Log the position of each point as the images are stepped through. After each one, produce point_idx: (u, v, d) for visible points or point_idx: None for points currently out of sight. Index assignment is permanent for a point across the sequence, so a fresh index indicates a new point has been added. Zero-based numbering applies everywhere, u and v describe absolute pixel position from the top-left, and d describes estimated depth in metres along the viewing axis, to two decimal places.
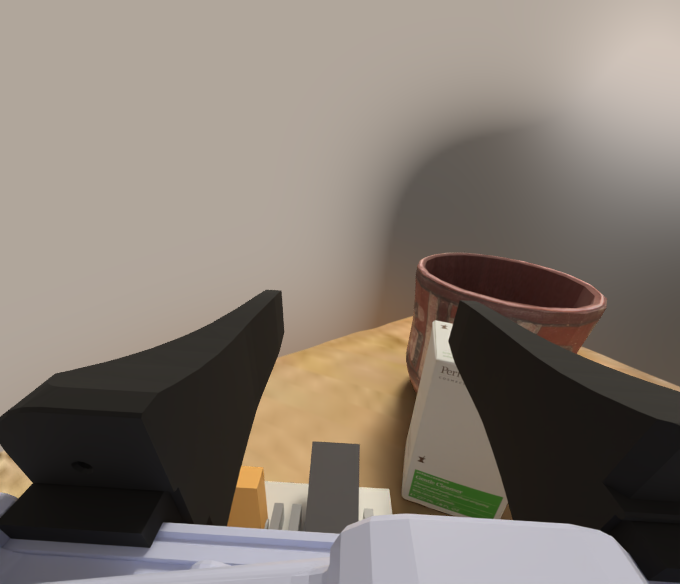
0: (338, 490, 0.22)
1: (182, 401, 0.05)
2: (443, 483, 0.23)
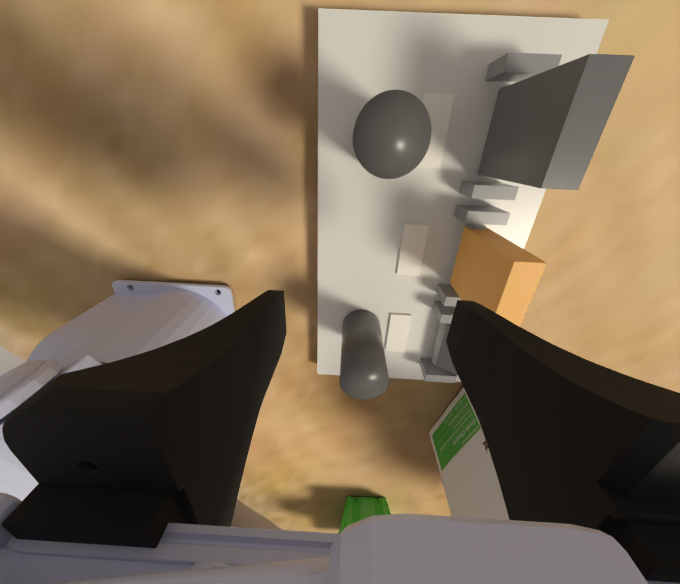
0: None
1: (187, 401, 0.05)
2: (463, 438, 0.24)
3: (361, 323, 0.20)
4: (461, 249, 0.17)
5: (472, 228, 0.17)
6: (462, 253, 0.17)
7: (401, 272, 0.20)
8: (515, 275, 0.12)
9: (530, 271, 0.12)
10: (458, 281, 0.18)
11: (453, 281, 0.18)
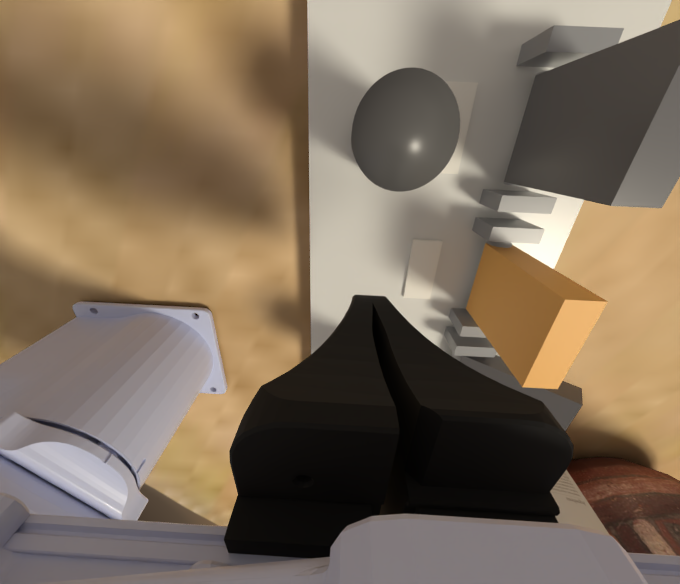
0: None
1: None
2: None
3: None
4: (481, 270, 0.15)
5: (496, 246, 0.14)
6: (483, 276, 0.14)
7: (408, 295, 0.17)
8: (565, 316, 0.09)
9: (584, 311, 0.09)
10: (478, 308, 0.15)
11: (471, 307, 0.16)
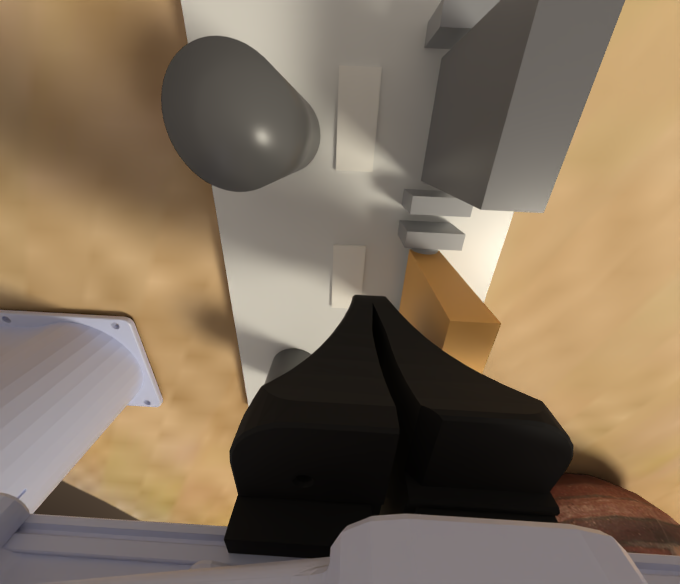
0: None
1: None
2: None
3: (285, 371, 0.15)
4: (406, 279, 0.13)
5: (418, 253, 0.12)
6: (407, 285, 0.13)
7: (337, 305, 0.15)
8: (455, 339, 0.08)
9: (476, 334, 0.08)
10: None
11: None
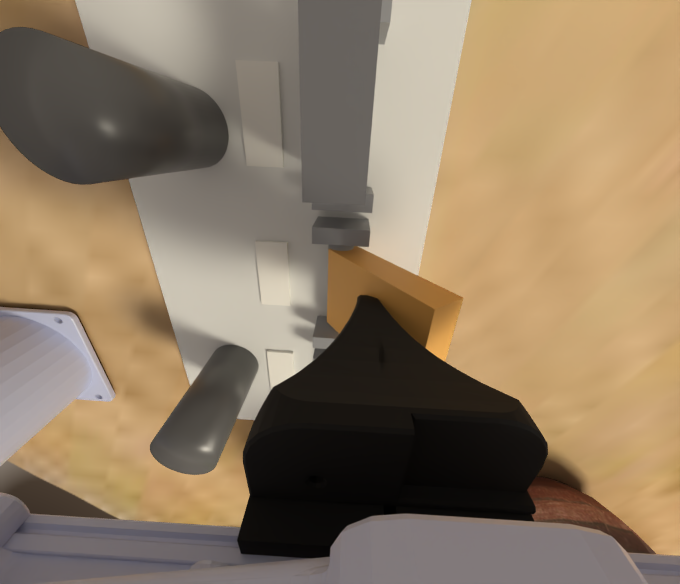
0: None
1: None
2: None
3: (215, 367, 0.15)
4: (333, 279, 0.13)
5: (340, 251, 0.12)
6: (336, 285, 0.13)
7: (267, 301, 0.15)
8: (436, 324, 0.09)
9: (449, 313, 0.09)
10: (340, 321, 0.13)
11: (332, 320, 0.14)
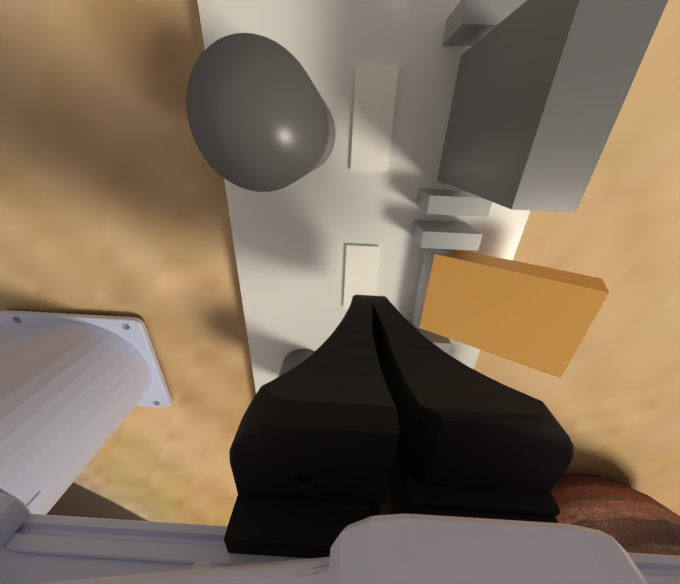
0: None
1: None
2: None
3: None
4: (439, 284, 0.13)
5: (448, 254, 0.12)
6: (445, 289, 0.13)
7: (349, 305, 0.15)
8: (598, 304, 0.10)
9: None
10: (447, 323, 0.13)
11: (430, 324, 0.14)
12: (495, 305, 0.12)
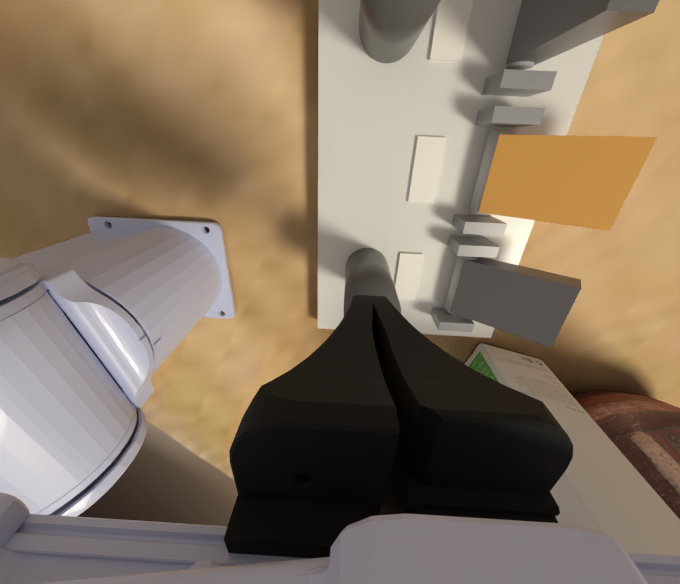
0: (499, 305, 0.17)
1: None
2: None
3: (367, 258, 0.17)
4: (501, 163, 0.15)
5: (511, 134, 0.14)
6: (506, 167, 0.15)
7: (413, 199, 0.17)
8: (646, 153, 0.12)
9: None
10: (506, 202, 0.15)
11: (490, 206, 0.16)
12: (553, 172, 0.14)
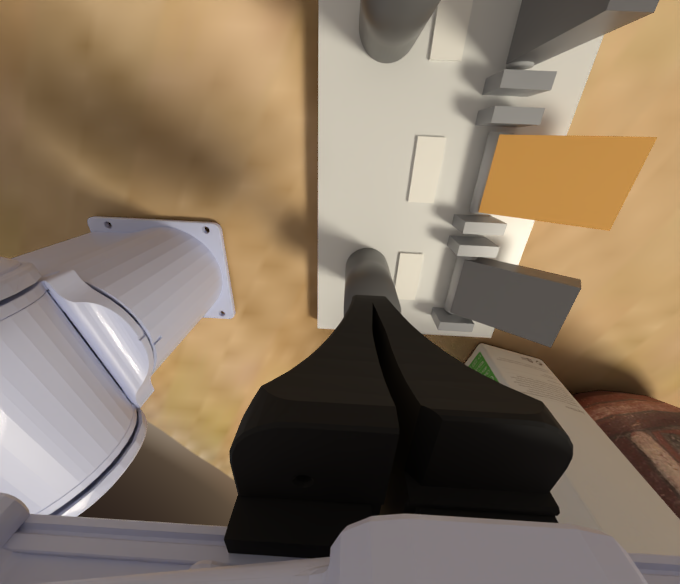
0: (499, 305, 0.17)
1: None
2: None
3: (367, 258, 0.17)
4: (501, 163, 0.15)
5: (511, 134, 0.14)
6: (506, 167, 0.15)
7: (413, 199, 0.17)
8: (646, 153, 0.12)
9: None
10: (506, 202, 0.15)
11: (490, 206, 0.16)
12: (553, 172, 0.14)
